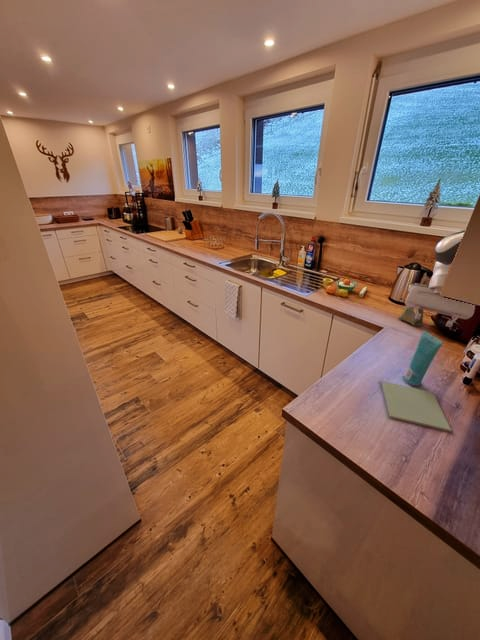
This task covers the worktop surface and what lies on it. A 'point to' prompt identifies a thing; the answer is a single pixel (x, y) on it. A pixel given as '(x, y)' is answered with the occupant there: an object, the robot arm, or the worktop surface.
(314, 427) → the worktop surface
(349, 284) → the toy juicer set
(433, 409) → the mat
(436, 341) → the tube
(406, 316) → the pouch
